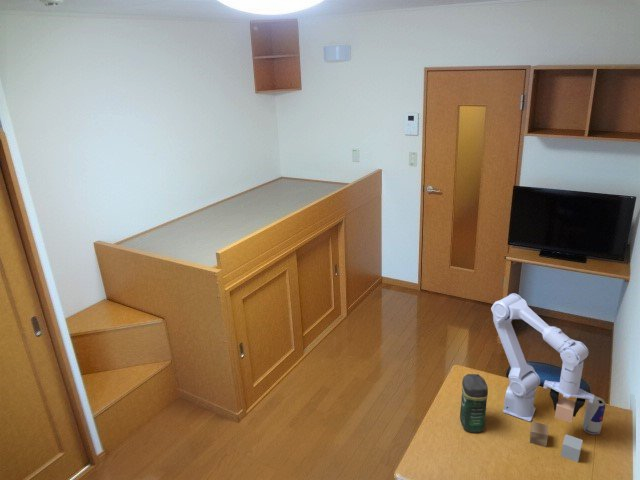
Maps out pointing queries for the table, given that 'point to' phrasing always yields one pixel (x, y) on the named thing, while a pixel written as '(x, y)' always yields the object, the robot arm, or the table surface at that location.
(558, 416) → the terracotta block
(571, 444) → the slate block
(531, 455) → the table surface
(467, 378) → the coffee jar
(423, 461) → the table surface
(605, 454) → the table surface
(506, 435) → the table surface
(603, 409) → the energy drink
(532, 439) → the walnut block
